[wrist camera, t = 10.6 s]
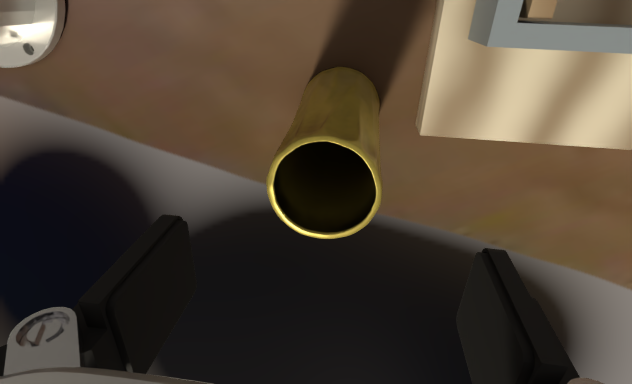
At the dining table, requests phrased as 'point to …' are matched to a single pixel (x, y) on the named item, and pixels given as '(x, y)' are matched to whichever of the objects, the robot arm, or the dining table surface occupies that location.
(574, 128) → the board
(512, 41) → the grey bracket
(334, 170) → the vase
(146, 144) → the dining table surface
